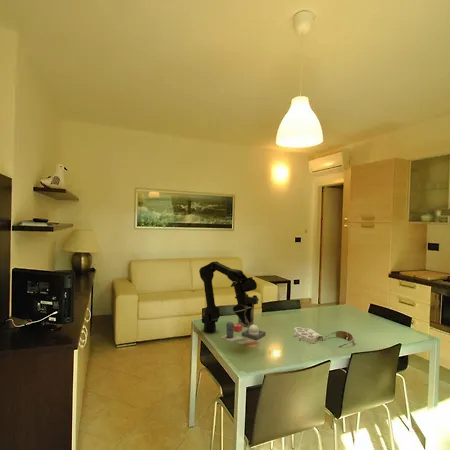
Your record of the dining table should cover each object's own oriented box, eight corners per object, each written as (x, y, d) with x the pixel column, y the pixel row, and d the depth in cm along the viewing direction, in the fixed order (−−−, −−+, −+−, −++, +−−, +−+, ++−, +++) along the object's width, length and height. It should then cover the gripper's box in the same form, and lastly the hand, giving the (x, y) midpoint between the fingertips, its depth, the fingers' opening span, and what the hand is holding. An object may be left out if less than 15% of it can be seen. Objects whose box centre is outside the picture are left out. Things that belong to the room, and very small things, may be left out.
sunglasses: (358, 344, 174) (358, 335, 174) (340, 352, 167) (340, 344, 167) (338, 335, 187) (338, 327, 186) (320, 343, 179) (320, 335, 179)
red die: (232, 332, 186) (232, 325, 186) (236, 330, 189) (236, 323, 189) (238, 333, 184) (238, 326, 184) (241, 331, 187) (242, 325, 187)
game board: (219, 339, 174) (219, 337, 173) (229, 334, 182) (229, 332, 182) (252, 350, 161) (252, 348, 161) (262, 344, 169) (262, 342, 169)
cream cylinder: (246, 335, 178) (246, 325, 178) (251, 332, 183) (252, 322, 183) (255, 337, 175) (255, 327, 175) (260, 334, 180) (261, 324, 179)
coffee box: (246, 328, 193) (247, 303, 193) (237, 326, 197) (238, 301, 196) (253, 325, 200) (254, 300, 200) (245, 322, 204) (246, 298, 204)
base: (241, 337, 178) (241, 332, 178) (250, 332, 186) (250, 328, 186) (256, 342, 172) (256, 336, 172) (265, 337, 180) (265, 331, 180)
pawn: (224, 337, 175) (224, 322, 175) (228, 334, 179) (229, 320, 178) (230, 339, 172) (231, 323, 172) (235, 336, 176) (235, 321, 176)
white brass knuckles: (326, 342, 175) (303, 345, 171) (309, 331, 193) (288, 333, 188) (326, 337, 175) (304, 339, 171) (309, 326, 192) (288, 327, 188)
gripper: (249, 290, 155) (257, 322, 151) (259, 289, 172) (266, 317, 169) (229, 295, 159) (236, 326, 155) (240, 293, 176) (247, 321, 172)
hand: (247, 322), depth 163 cm, fingers open, 9 cm apart
